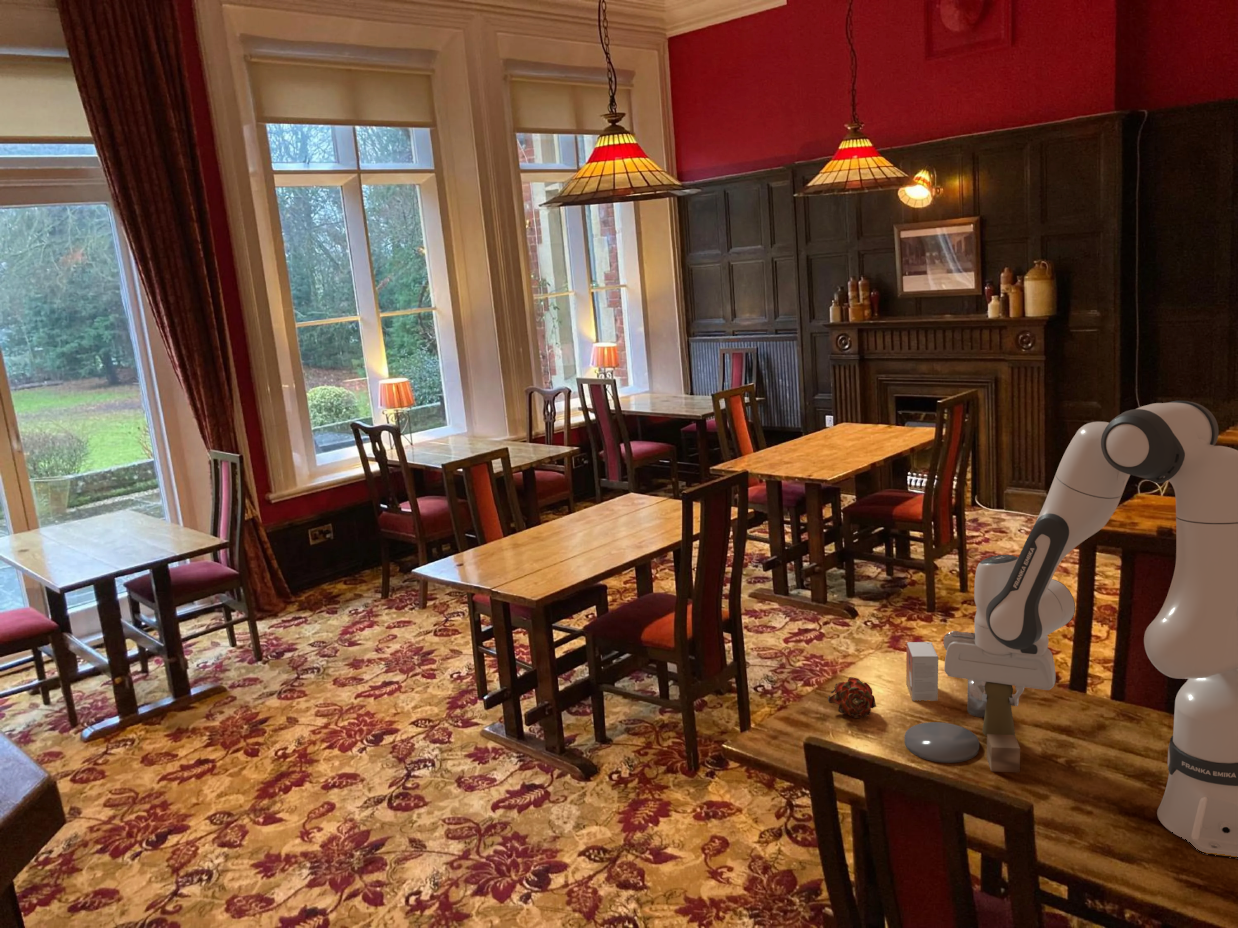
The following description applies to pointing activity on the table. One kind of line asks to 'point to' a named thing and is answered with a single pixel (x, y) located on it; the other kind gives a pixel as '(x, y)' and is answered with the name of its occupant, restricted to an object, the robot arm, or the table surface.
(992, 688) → the cork
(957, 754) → the smooth pebble
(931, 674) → the small box
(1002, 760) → the light brown cube
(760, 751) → the table surface
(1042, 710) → the table surface
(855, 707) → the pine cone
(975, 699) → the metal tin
